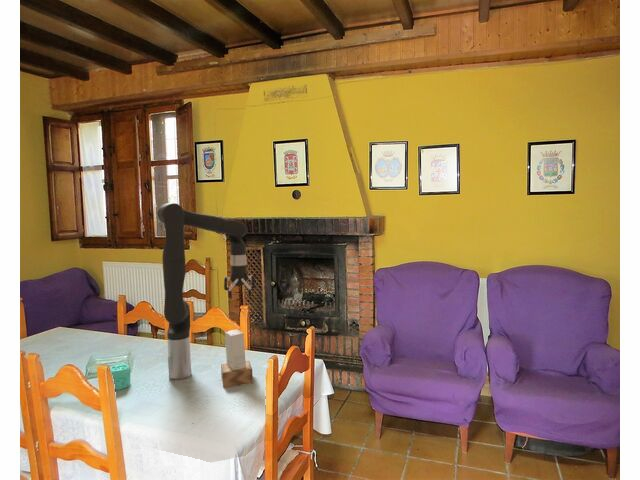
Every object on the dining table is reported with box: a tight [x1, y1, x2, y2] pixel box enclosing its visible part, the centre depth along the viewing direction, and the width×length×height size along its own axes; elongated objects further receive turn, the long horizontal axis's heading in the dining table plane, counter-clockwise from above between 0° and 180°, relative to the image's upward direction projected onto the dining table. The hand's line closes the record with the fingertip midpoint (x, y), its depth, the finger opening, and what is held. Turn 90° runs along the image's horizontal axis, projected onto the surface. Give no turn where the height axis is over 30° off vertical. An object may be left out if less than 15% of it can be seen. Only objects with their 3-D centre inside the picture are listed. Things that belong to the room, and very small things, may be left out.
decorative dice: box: [109, 363, 131, 391], centre depth 174 cm, size 8×8×8 cm
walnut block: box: [220, 360, 254, 388], centre depth 177 cm, size 12×10×6 cm
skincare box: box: [224, 328, 247, 370], centre depth 176 cm, size 8×6×15 cm
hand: (239, 297), depth 199 cm, fingers open, 8 cm apart
